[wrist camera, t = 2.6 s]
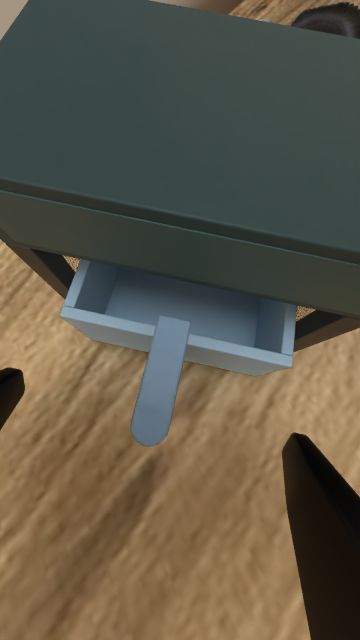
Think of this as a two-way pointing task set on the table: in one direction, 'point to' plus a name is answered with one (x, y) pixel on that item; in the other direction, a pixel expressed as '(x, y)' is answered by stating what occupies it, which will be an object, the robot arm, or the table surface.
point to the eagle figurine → (330, 19)
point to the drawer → (177, 332)
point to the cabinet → (185, 152)
